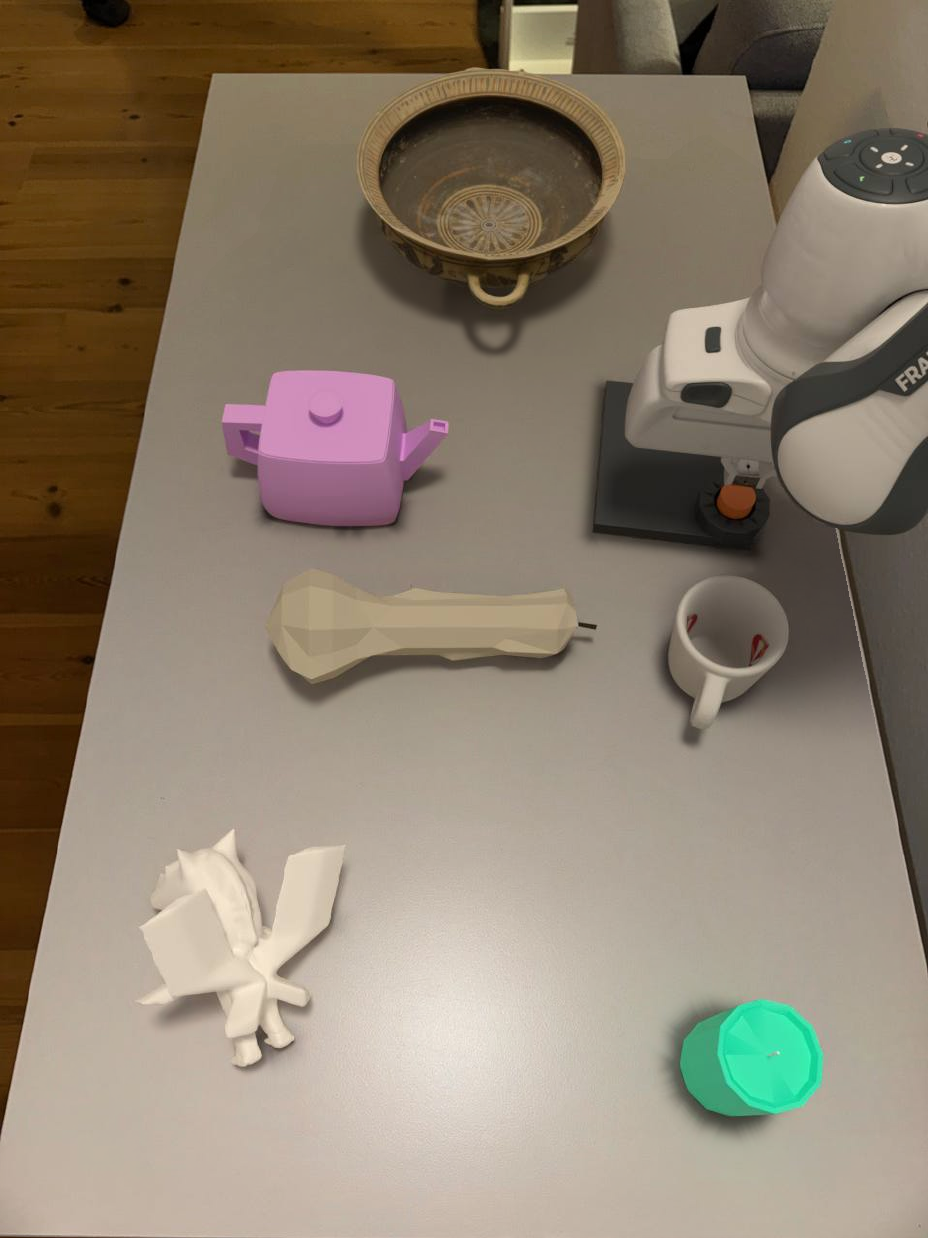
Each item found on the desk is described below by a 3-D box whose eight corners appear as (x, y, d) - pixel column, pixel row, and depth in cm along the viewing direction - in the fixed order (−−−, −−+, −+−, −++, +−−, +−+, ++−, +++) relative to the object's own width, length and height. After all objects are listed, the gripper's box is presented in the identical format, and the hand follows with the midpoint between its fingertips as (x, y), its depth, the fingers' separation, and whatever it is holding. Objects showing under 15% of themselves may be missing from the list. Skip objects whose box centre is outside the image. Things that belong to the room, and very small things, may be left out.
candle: (785, 1048, 67) (849, 1032, 57) (749, 1136, 65) (808, 1136, 54) (702, 998, 69) (749, 974, 58) (663, 1083, 66) (705, 1074, 56)
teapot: (452, 433, 89) (452, 354, 80) (443, 537, 85) (443, 465, 75) (247, 422, 90) (224, 341, 80) (227, 524, 85) (200, 451, 76)
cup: (739, 763, 76) (769, 725, 69) (636, 730, 77) (655, 689, 70) (768, 639, 81) (799, 592, 74) (670, 610, 82) (691, 560, 75)
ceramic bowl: (363, 139, 106) (355, 47, 97) (593, 133, 107) (606, 42, 98) (365, 367, 92) (356, 286, 84) (628, 359, 93) (647, 278, 84)
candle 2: (272, 585, 81) (583, 582, 83) (272, 692, 80) (589, 686, 82) (259, 557, 73) (606, 555, 74) (257, 677, 71) (613, 671, 73)
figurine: (301, 1002, 75) (249, 816, 76) (396, 1006, 67) (337, 797, 68) (108, 1101, 65) (52, 884, 66) (193, 1120, 57) (127, 871, 58)
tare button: (751, 492, 84) (756, 482, 82) (750, 521, 83) (756, 511, 81) (716, 488, 84) (721, 478, 83) (716, 517, 83) (720, 507, 81)
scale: (759, 407, 91) (769, 385, 88) (760, 555, 84) (770, 536, 82) (604, 390, 92) (609, 367, 89) (592, 536, 85) (597, 516, 82)
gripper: (952, 341, 69) (874, 461, 81) (647, 308, 69) (616, 432, 82) (960, 416, 66) (878, 529, 78) (643, 381, 67) (611, 498, 79)
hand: (742, 479), depth 80 cm, fingers closed
